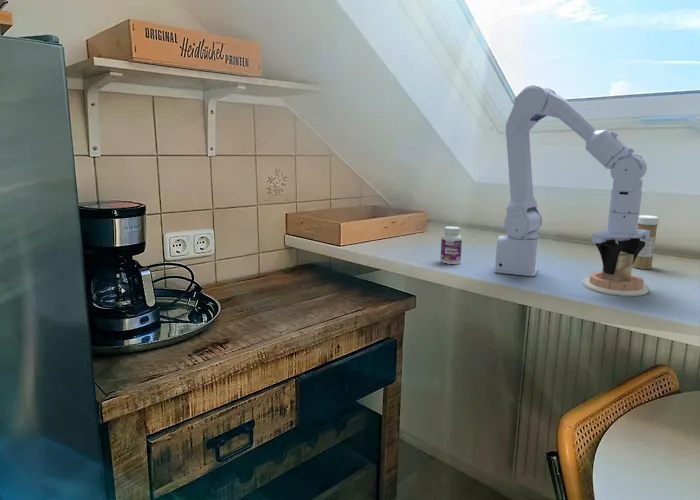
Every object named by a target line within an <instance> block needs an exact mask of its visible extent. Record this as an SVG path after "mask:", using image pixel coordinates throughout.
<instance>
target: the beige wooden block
mask: <svg viewBox="0 0 700 500" xmlns="http://www.w3.org/2000/svg"><path fill="white" fill-rule="evenodd" d="M633 257H634V255H633V254H629V253H625V252H620V254H619V256H618V259H617V264H616V269H615V272H614V274H613V275H610V274H607V273H604V268H603V267H602V279H606V280H609V281H613V282H629V281H630V280H631V275H632V273H633V266H632V265H633Z"/></svg>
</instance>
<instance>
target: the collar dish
mask: <svg viewBox="0 0 700 500" xmlns="http://www.w3.org/2000/svg"><path fill="white" fill-rule="evenodd" d="M602 271H603V270H602ZM602 271H594V272H590V274H589V276H587V277H585V278H584V279H583V281H582V285H583V286H584V287H585V288H586V289H588V290H591V291H594V292H597V293H600V294H606V295H611V296H619V297H620V296H621V297H639V296H640V297H641V296H645V295H648V294H649V292H650V286H648V285H647V284H646V283H644V279H643V278H642V277H640V276H637V275H634V274H631V280H630V281H629V282H613V281H609V280H606V279H602Z"/></svg>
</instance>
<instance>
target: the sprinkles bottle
mask: <svg viewBox="0 0 700 500" xmlns="http://www.w3.org/2000/svg"><path fill="white" fill-rule="evenodd" d="M659 219H660V218H659V217H658V216H656V215H650V214H649V215H647V214H643V215H639V218H638V226H637V230H638V229H644V230H649V231H650V237H649V239H640V241H644V242H645V247H644V248H643V249H642V250H641V251H640V252H639V254H638V255H637V257H636V259H635V261H634V263H633V265H632V268H635V269H640V270H651V269H652V268H653V259H654V252H655V247H656V239H657V230H658V229H657V228H658V225H659Z"/></svg>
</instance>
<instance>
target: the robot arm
mask: <svg viewBox="0 0 700 500" xmlns="http://www.w3.org/2000/svg"><path fill="white" fill-rule="evenodd" d="M546 117H552V118H556V119H560V121H561V122H562V123H564V124H565V125H566V126H567V127H569V128H570V129H571V130H572V131H574V132H575V133H576V134H577V135H578V136H579V137H581V139H582V140H584V142H585V150H586V151H587V153H588V154H590V155H591V156H592V157H593V158H594V159H596V161H598V162H599V163H600V164H601V165H602V166H603V167H604V168H606V170H610V176H611V177H612V181H613V182H612V189H611V193H610V202H609V208H608V210H609V211H608V219H607V227H606V230H602V231H598V232H593V233H592V232H591V241H590V242H591V243H595V246H596V248H597V249H598V251H599V255H600V257H601V261H602V269H603V268H604V273H607V274H610V275H613V274H614V272H615V269H616V264H617V259H618V256H619V254H620V252H625V253H629V254H633V255H634V257H633V263H634V261H635V259H636V257H637V255H638V254H639V252H640V251H641V250H642V249H643V248H644V247H645V242H644V241H640V239H649V237H650V231H649V230H644V229H638V230H637V227H638V218H639V216H640V211H641V202H642V194H643V190H642V188H643V179H642V178H643V177H644V176H645V175H646V172H647V162H646V161H645V160H644V158H643V157H642V155H639V154H635V153H634V152H635V149H634V148H632V147H628V146H627V145H625V144H624V143H623V142H622V141H621V140H620V139H618V138H617V137H618V135H619V134H618V133H617V132H616V131H614V130H612V131H609V129H597V128H596V127H595V126H594V125H593V124H592V123H591V122H590V121H589V119H587V118H586V117H585V116H584V115H583V114H582V113H581V112H580V111H579V110H578V109H577V108H576V107H575V106H574V105H573V104H572V103H571V102H570V101H568V100H567V99H566V98H564V97H563V96H561V95H560V94H557V93H556V92H555V91H554V89H551V88H546V87H545V88H544V87H541V86H539V85H536V84H535V85H534V84H533V85H529V86H526V87H525V88H523V89H522V90H521V91H520V93H518V94H517V96H516V97H514V100H513V106H512V109H511V111H510V114H509V116H508V118H507V121H506V124H505V136H506V138H505V139H506V150H507V163H508V164H507V165H508V166H507V167H508V177H509V178H508V179H509V192H510V193H509V194H510V199H509V202H508V204H507V207H506V216H505V219H504V222H503V227H504V230H505V232H506V235H499V236H498V238H497V241H496V249H495V251H496V252H495V253H496V254H495V261H494V262H495V266H494V267H495V268H494V273H498V274H508V275H509V274H510V275H517V276H525V277H536V274H537V273H538V270H539V267H537V266H536V264H537V263H536V262H537V250H538V249H537V248H538V237H539V235H538V232H537V231H538V230H539V229H540V228H541V227H542V226H543V225H542V223H543V217H542V215H541V213H540V211H539V209H538V202H537V201H536V198H535V196H534V187H533V185H534V184H533V172H532V171H533V169H532V156H531V155H532V154H531V141H530V140H531V139H530V131H531V130H532V129H533V128H534V126H536V124H537V123H538V122H539V121H541V120H542V119H544V118H546ZM633 153H634V154H633Z"/></svg>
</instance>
